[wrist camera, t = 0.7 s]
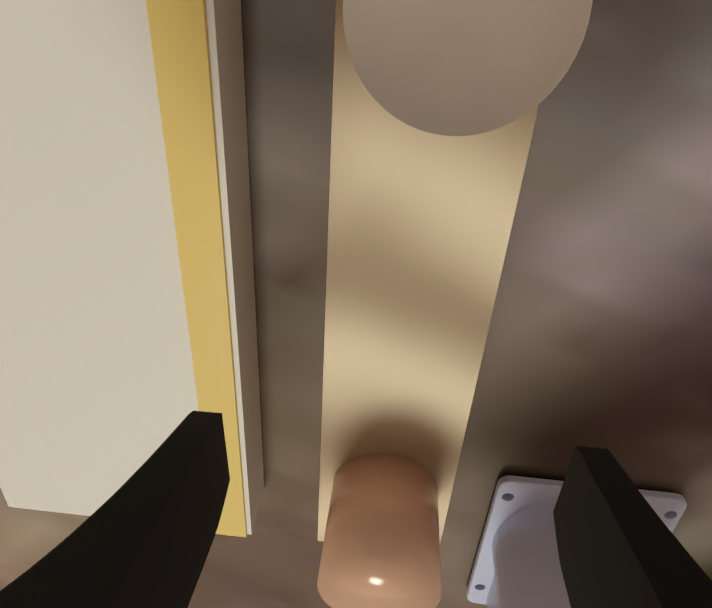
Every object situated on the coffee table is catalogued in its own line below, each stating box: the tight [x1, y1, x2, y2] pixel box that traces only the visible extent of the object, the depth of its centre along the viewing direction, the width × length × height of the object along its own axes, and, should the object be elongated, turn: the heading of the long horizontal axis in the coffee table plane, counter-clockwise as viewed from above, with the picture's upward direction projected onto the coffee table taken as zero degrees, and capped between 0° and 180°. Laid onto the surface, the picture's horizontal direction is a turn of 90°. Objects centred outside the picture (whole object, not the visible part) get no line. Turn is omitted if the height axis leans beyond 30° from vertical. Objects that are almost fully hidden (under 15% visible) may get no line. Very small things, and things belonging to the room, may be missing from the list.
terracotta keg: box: [317, 453, 441, 608], centre depth 20 cm, size 4×4×4 cm
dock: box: [0, 0, 264, 537], centre depth 19 cm, size 26×11×3 cm, turn 177°
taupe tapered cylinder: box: [343, 0, 593, 136], centre depth 11 cm, size 4×4×4 cm
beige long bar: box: [318, 0, 540, 541], centre depth 19 cm, size 24×5×4 cm, turn 177°
